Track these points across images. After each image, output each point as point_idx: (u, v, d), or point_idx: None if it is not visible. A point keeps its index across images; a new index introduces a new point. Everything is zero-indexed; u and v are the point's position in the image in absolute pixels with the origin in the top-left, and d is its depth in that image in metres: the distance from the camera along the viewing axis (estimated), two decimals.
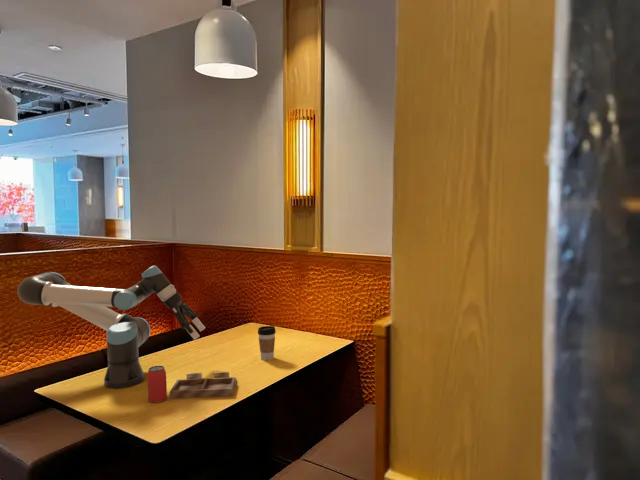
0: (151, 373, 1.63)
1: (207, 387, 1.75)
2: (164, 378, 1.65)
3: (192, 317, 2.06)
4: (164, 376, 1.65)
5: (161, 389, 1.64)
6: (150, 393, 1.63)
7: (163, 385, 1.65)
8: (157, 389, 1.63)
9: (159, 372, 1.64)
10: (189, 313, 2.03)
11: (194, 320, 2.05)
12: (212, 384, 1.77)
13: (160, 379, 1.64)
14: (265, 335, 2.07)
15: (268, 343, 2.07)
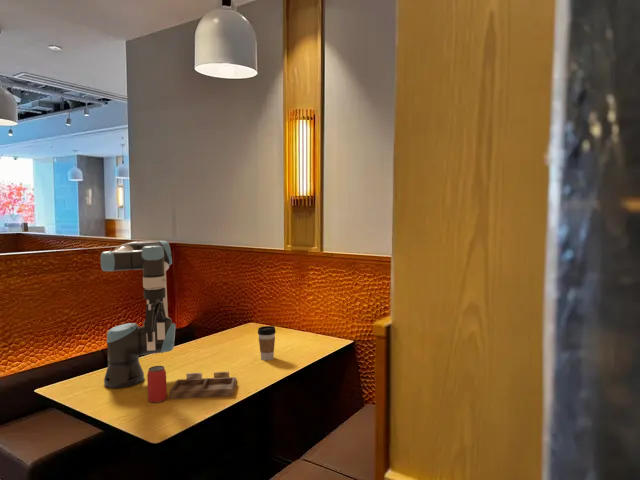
0: (151, 373, 1.63)
1: (207, 387, 1.75)
2: (164, 378, 1.65)
3: (159, 320, 1.72)
4: (164, 376, 1.65)
5: (161, 389, 1.64)
6: (150, 393, 1.63)
7: (163, 385, 1.65)
8: (157, 389, 1.63)
9: (159, 372, 1.64)
10: (160, 315, 1.70)
11: (159, 324, 1.71)
12: (212, 384, 1.77)
13: (160, 379, 1.64)
14: (265, 335, 2.07)
15: (268, 343, 2.07)
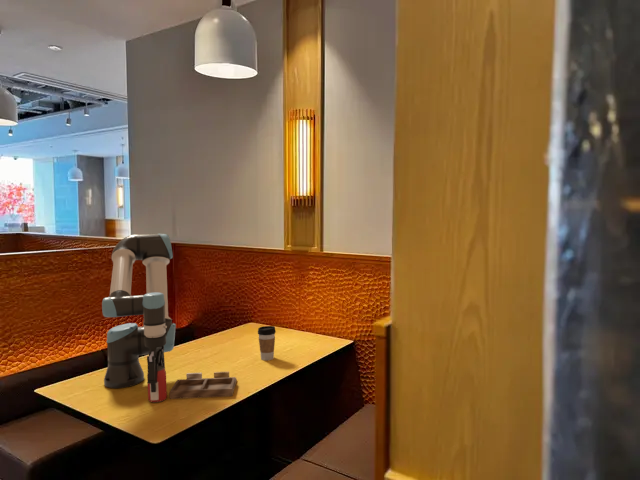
0: None
1: (207, 387, 1.75)
2: (164, 378, 1.65)
3: None
4: (164, 376, 1.65)
5: (161, 389, 1.64)
6: None
7: (163, 385, 1.65)
8: None
9: (159, 372, 1.64)
10: (159, 364, 1.68)
11: None
12: (212, 384, 1.77)
13: (160, 379, 1.64)
14: (265, 335, 2.07)
15: (268, 343, 2.07)
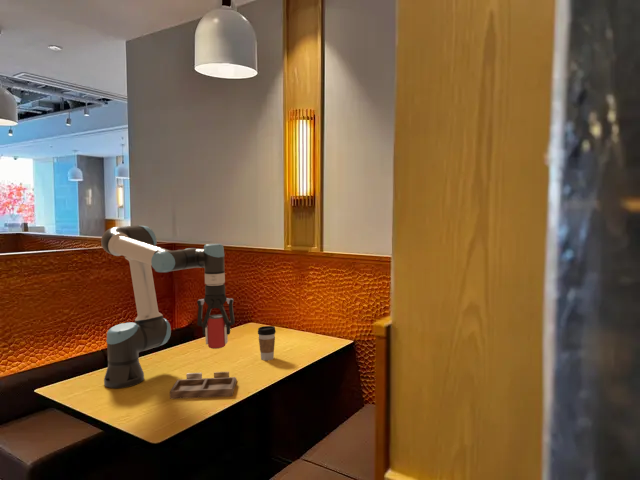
0: None
1: (207, 387, 1.75)
2: (212, 327, 1.69)
3: None
4: (212, 325, 1.69)
5: (209, 336, 1.70)
6: None
7: (210, 333, 1.70)
8: None
9: (209, 319, 1.70)
10: None
11: None
12: (212, 384, 1.77)
13: (208, 326, 1.70)
14: (265, 335, 2.07)
15: (268, 343, 2.07)
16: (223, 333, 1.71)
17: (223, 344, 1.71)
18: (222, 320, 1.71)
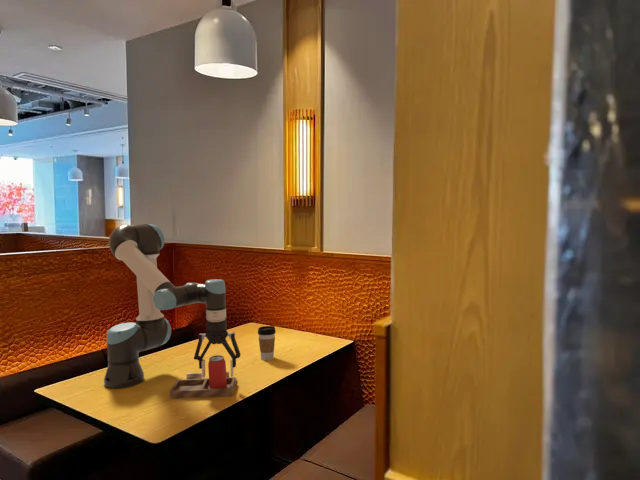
0: None
1: (207, 387, 1.75)
2: (213, 370, 1.70)
3: None
4: (213, 368, 1.70)
5: (210, 378, 1.71)
6: None
7: (211, 376, 1.70)
8: (209, 376, 1.72)
9: (209, 362, 1.71)
10: None
11: None
12: None
13: (209, 369, 1.71)
14: (265, 335, 2.07)
15: (268, 343, 2.07)
16: (224, 375, 1.72)
17: (224, 385, 1.72)
18: (223, 362, 1.71)
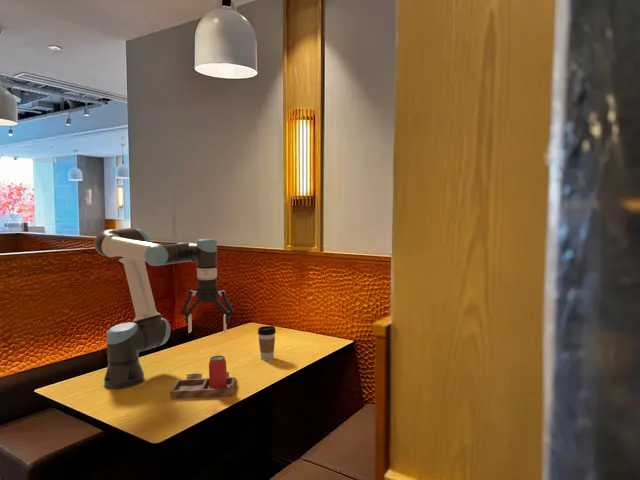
0: None
1: (207, 387, 1.75)
2: (213, 370, 1.70)
3: None
4: (213, 368, 1.70)
5: (210, 377, 1.72)
6: None
7: (212, 375, 1.71)
8: (209, 376, 1.73)
9: (210, 361, 1.72)
10: None
11: (224, 316, 1.76)
12: None
13: (209, 368, 1.71)
14: (265, 335, 2.07)
15: (268, 343, 2.07)
16: (224, 375, 1.72)
17: (224, 386, 1.72)
18: (223, 362, 1.72)
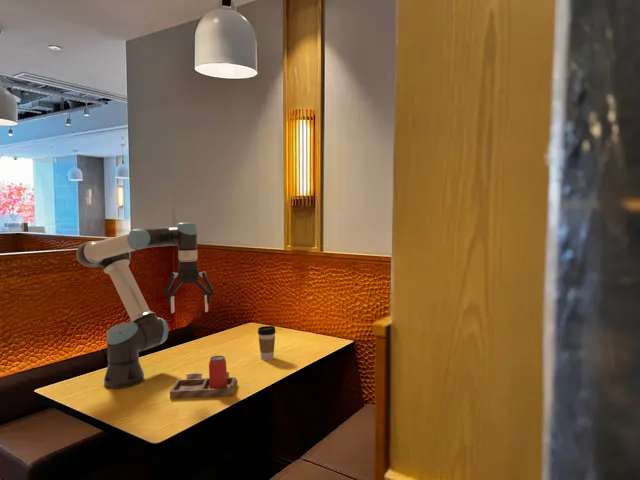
0: None
1: (207, 387, 1.75)
2: (213, 369, 1.70)
3: None
4: (213, 368, 1.70)
5: (210, 377, 1.72)
6: None
7: (212, 375, 1.71)
8: (209, 376, 1.73)
9: (210, 361, 1.72)
10: None
11: None
12: None
13: (209, 368, 1.71)
14: (265, 335, 2.07)
15: (268, 343, 2.07)
16: (224, 375, 1.72)
17: (224, 386, 1.72)
18: (223, 362, 1.72)
